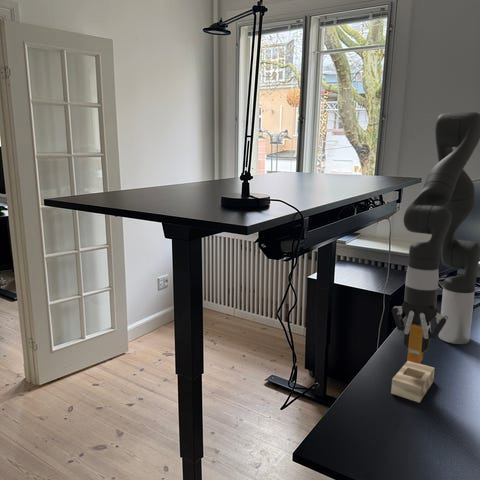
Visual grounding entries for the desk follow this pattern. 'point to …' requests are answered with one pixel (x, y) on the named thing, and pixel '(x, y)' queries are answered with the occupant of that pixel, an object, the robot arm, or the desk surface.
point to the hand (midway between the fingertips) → (416, 348)
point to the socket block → (412, 381)
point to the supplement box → (415, 344)
